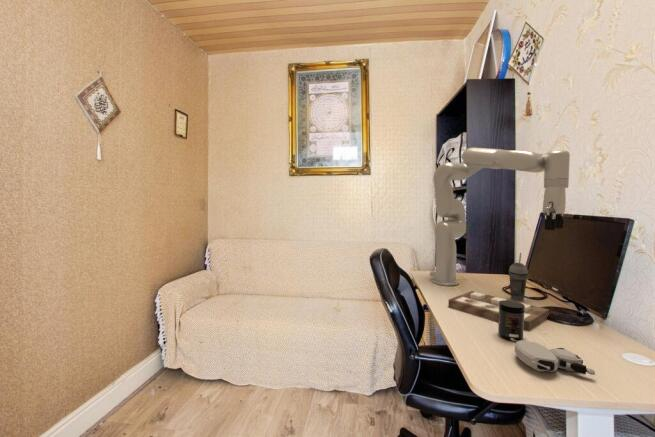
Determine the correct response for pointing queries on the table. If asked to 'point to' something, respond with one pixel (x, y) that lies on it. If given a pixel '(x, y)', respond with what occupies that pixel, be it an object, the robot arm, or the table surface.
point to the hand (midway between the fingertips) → (554, 229)
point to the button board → (495, 309)
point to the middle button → (496, 300)
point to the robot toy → (549, 358)
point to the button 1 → (477, 296)
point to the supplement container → (511, 320)
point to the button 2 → (527, 308)
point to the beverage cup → (518, 280)
